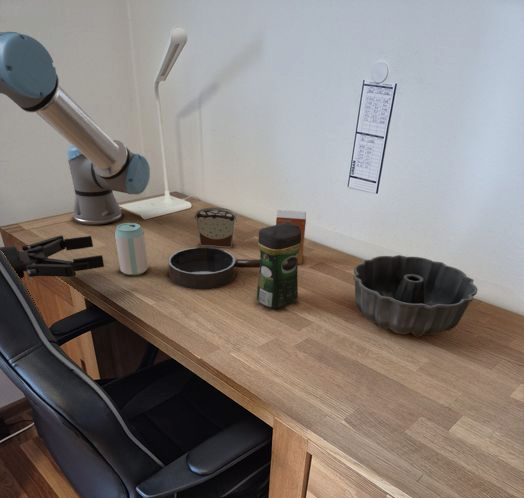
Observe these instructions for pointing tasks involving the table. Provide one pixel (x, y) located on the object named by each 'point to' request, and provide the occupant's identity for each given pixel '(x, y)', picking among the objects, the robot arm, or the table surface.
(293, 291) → the coffee jar
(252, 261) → the skillet handle
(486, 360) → the table surface
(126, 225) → the can
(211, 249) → the skillet
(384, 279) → the bundt pan
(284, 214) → the small box
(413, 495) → the table surface
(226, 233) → the food container
